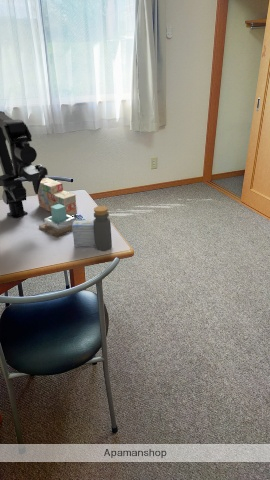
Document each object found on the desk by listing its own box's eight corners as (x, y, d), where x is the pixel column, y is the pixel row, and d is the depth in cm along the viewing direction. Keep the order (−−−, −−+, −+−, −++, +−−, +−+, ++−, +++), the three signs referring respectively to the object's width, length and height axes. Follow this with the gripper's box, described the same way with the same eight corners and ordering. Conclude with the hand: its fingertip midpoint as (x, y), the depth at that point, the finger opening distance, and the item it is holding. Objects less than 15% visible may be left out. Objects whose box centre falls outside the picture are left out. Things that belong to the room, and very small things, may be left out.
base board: (39, 228, 141) (38, 225, 141) (63, 218, 149) (62, 216, 149) (57, 237, 134) (57, 234, 134) (81, 226, 142) (81, 224, 142)
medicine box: (97, 241, 131) (95, 219, 127) (96, 246, 127) (94, 225, 123) (75, 241, 131) (73, 220, 127) (74, 247, 127) (71, 225, 123)
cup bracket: (45, 225, 141) (44, 218, 140) (62, 218, 147) (61, 212, 145) (58, 231, 136) (57, 224, 135) (75, 224, 142) (74, 217, 140)
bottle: (112, 250, 124) (110, 211, 117) (96, 252, 124) (92, 212, 117) (111, 242, 129) (108, 204, 122) (95, 244, 129) (91, 205, 122)
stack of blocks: (77, 215, 152) (74, 188, 147) (65, 219, 148) (62, 191, 143) (50, 202, 166) (47, 177, 160) (38, 206, 162) (34, 180, 156)
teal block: (53, 225, 141) (50, 206, 137) (61, 222, 144) (58, 203, 140) (59, 228, 139) (56, 209, 135) (67, 224, 141) (65, 206, 138)
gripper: (9, 167, 118) (17, 210, 125) (54, 155, 130) (59, 195, 137) (-9, 161, 124) (0, 202, 132) (36, 150, 136) (41, 189, 144)
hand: (26, 197), depth 136 cm, fingers open, 9 cm apart
